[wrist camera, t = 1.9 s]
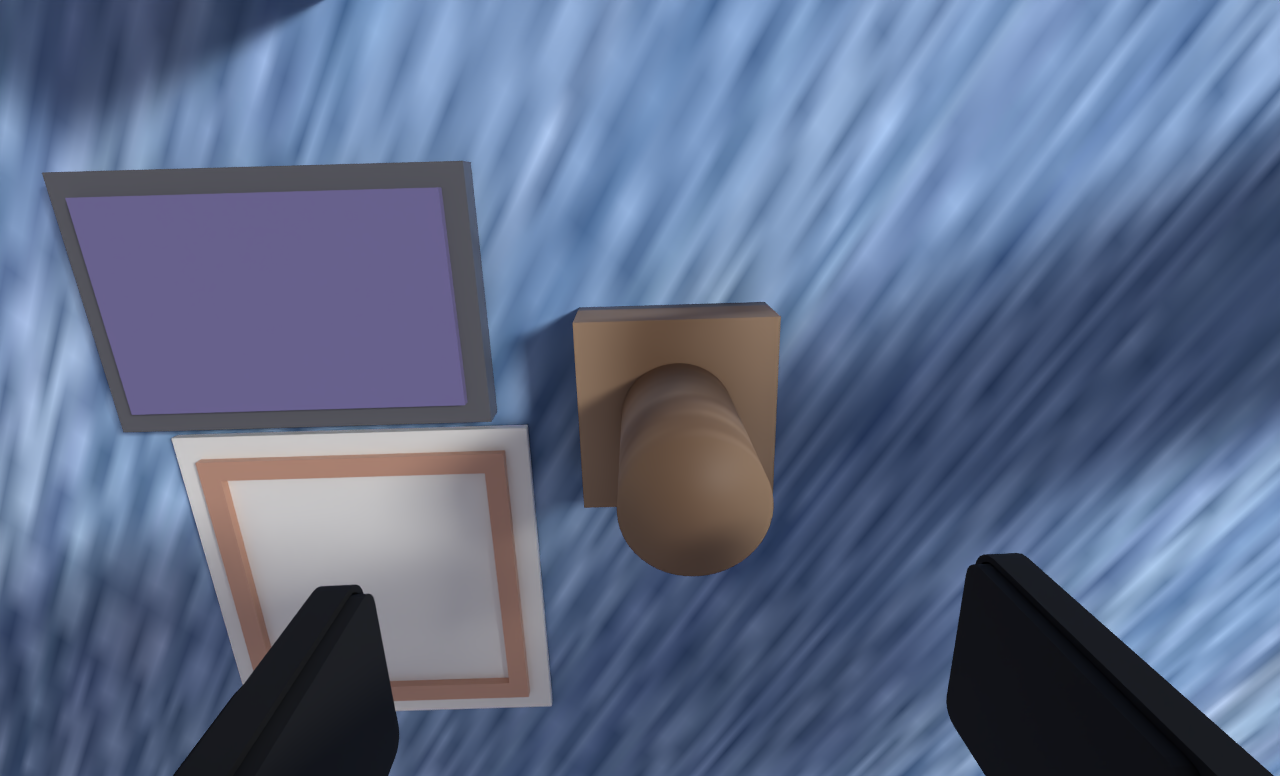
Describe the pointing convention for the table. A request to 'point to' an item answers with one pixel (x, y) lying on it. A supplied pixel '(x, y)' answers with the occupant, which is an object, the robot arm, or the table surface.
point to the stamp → (680, 427)
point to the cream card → (383, 549)
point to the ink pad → (282, 293)
